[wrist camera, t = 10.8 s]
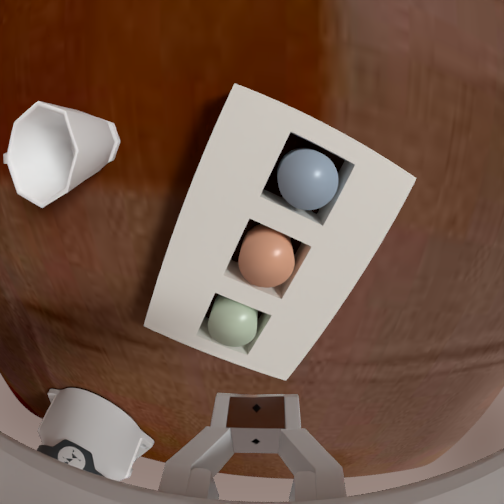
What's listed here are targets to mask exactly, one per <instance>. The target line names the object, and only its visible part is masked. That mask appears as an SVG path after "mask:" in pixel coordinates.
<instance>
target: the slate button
mask: <svg viewBox="0 0 504 504" xmlns="http://www.w3.org/2000/svg"><path fill="white" fill-rule="evenodd" d="M277 179H278V186H279V190H280V192H281V194H282V196H283V198H284V199H285V200H286V201H287V202H288V203H289V204H291V205H292V206H294V207H296V208H298V209H302V210H315V209H318V208H321V207H323V206H324V205H326V204H327V203H328V202H330V201H331V199H332V198H333V197H334V195H335V193H336V191H337V188H338V173H337V170H336V167H335V166H334V164H333V163H332V161H331V160H330V159H329V158H328V157H326V156H325V155H323V154H322V153H320V152H318V151H315V150H313V149H310V148H297V149H294V150H291V151H289V152H288V153H287V154H285V155H284V156H283V158H282V159H281V161H280V162H279V165H278V168H277Z"/></svg>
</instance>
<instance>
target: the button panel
mask: <svg viewBox="0 0 504 504" xmlns="http://www.w3.org/2000/svg"><path fill="white" fill-rule="evenodd" d="M290 133H292V134H295V135H297V136H299V137H301V138H303V139H305V140H307V141H309V142H311V143H313V144H315V145H317V146H319V147H321V148H323V149H325V150H327V151H329V152H331V153H332V154H334V155H336V156H338V157H340V158H342V159H344V160H345V161H344V163H343V165H342V167H341V169H340V171H339V172H338V188H337V191H336V193H335V195H334V197H333V198H332V199H331V201H330V202H328V203H327V204H326V205H324V206H323V207H321V208H320V209H319V211H318V213H317V214H316V213H314V212H312V211H310V210H302V209H298V208H296V207H294V206H292V205H291V204H289V203H288V202H287V201H286V200H285V199H284V198H282V197H280V196H278V195H276V194H273V193H271V192H269V191H267V190H265V189H264V187H265V184H266V182H267V180H268V178H269V176H270V174H271V172H272V170H273V168H274V165H275V163H276V161H277V159H278V157H279V155H280V153H281V151H282V149H283V147H284V145H285V143H286V140H287V138H288V136H289V134H290ZM416 179H417V178H415V177H414V176H412V175H411V174H409V173H408V172H406V171H405V170H403V169H402V168H400V167H399V166H397V165H396V164H394V163H392V162H391V161H389V160H388V159H386V158H385V157H383V156H381V155H380V154H378V153H376V152H375V151H373V150H371V149H370V148H368V147H366V146H365V145H363V144H361V143H359V142H358V141H356V140H354V139H352V138H351V137H349V136H347V135H345V134H343V133H342V132H340V131H338V130H336V129H334V128H332V127H330V126H328V125H327V124H325V123H323V122H321V121H319V120H317V119H315V118H313V117H311V116H309V115H307V114H305V113H303V112H300V111H298V110H296V109H294V108H292V107H290V106H288V105H285V104H283V103H281V102H279V101H276V100H274V99H272V98H270V97H267V96H265V95H263V94H260V93H258V92H255V91H253V90H250V89H248V88H245V87H243V86H240V85H238V84H234V86H233V88H232V90H231V92H230V94H229V96H228V98H227V101H226V103H225V105H224V107H223V109H222V111H221V114H220V116H219V118H218V120H217V123H216V125H215V127H214V129H213V132H212V134H211V136H210V139H209V141H208V143H207V146H206V148H205V151H204V153H203V155H202V158H201V160H200V163H199V165H198V168H197V170H196V173H195V175H194V178H193V180H192V183H191V185H190V188H189V191H188V193H187V196H186V198H185V201H184V204H183V206H182V209H181V212H180V215H179V217H178V220H177V223H176V226H175V228H174V231H173V234H172V237H171V240H170V243H169V246H168V249H167V252H166V255H165V258H164V261H163V264H162V267H161V270H160V273H159V276H158V279H157V282H156V286H155V289H154V292H153V295H152V299H151V302H150V305H149V309H148V312H147V316H146V319H145V323H144V327H147V328H149V329H151V330H153V331H155V332H158V333H160V334H162V335H164V336H167V337H169V338H171V339H174V340H176V341H178V342H181V343H183V344H186V345H188V346H190V347H193V348H195V349H198V350H200V351H203V352H205V353H208V354H211V355H213V356H216V357H218V358H221V359H224V360H226V361H229V362H232V363H235V364H237V365H240V366H243V367H246V368H249V369H252V370H255V371H258V372H261V373H264V374H267V375H270V376H273V377H276V378H279V379H282V380H287V379H288V378H289V376H290V375H291V374H292V372H293V371H294V370H295V369H296V367H297V366H298V365H299V363H300V362H301V361H302V360H303V358H304V357H305V356H306V354H307V353H308V352H309V350H310V349H311V348H312V346H313V345H314V344H315V342H316V341H317V339H318V338H319V337H320V335H321V334H322V333H323V331H324V330H325V328H326V327H327V326H328V324H329V323H330V321H331V320H332V318H333V317H334V316H335V314H336V313H337V311H338V310H339V308H340V307H341V305H342V304H343V302H344V301H345V299H346V298H347V296H348V295H349V293H350V292H351V290H352V289H353V287H354V286H355V284H356V283H357V281H358V280H359V278H360V276H361V275H362V273H363V272H364V270H365V269H366V267H367V265H368V264H369V262H370V261H371V259H372V257H373V256H374V254H375V252H376V251H377V249H378V247H379V246H380V244H381V242H382V241H383V239H384V237H385V235H386V234H387V232H388V230H389V229H390V227H391V225H392V223H393V222H394V220H395V218H396V216H397V214H398V213H399V211H400V209H401V207H402V205H403V203H404V202H405V200H406V198H407V196H408V194H409V192H410V190H411V188H412V186H413V184H414V182H415V181H416ZM249 218H250V219H252V220H254V221H256V222H259V223H261V224H263V225H265V226H268V227H270V228H272V229H274V230H276V231H279V232H281V233H283V234H285V235H287V236H290V237H292V238H294V239H296V240H298V241H301V242H302V243H301V245H300V246H299V248H298V250H297V252H296V254H295V256H294V260H295V265H294V269H293V272H292V274H291V275H290V277H289V278H288V279H287V280H286V281H285V282H283V283H282V284H280V285H278V286H275V287H269V288H265V287H259V286H256V285H253V284H251V283H250V282H248V281H247V280H246V279H245V278H244V277H243V275H242V274H241V272H240V269H239V265H238V262H236V261H233V260H231V257H232V255H233V253H234V251H235V249H236V246H237V244H238V242H239V240H240V238H241V236H242V233H243V231H244V229H245V227H246V225H247V223H248V221H249ZM215 293H217V294H220V295H222V296H224V297H227V298H229V299H232V300H234V301H237V302H239V303H241V304H244V305H246V306H249V307H251V308H254V309H256V310H259V311H261V312H262V314H261V316H260V318H259V319H258V321H257V331H256V335H255V337H254V338H253V340H252V341H251V342H249V343H248V344H246V345H243V346H239V347H230V346H225V345H223V344H220V343H219V342H217V341H216V340H215V339H213V337H212V336H211V335H210V333H209V331H208V320H209V318H207V317H205V314H206V312H207V310H208V308H209V306H210V303H211V301H212V299H213V297H214V294H215Z"/></svg>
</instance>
